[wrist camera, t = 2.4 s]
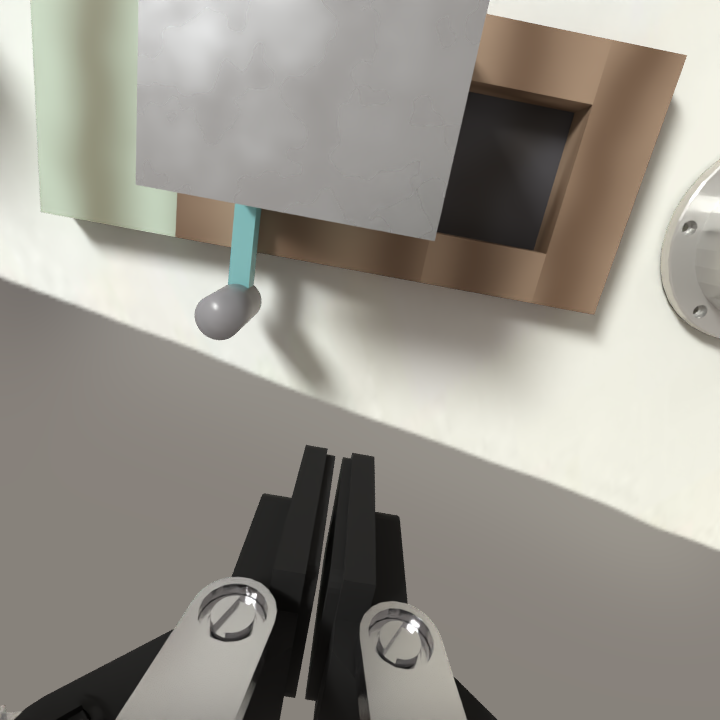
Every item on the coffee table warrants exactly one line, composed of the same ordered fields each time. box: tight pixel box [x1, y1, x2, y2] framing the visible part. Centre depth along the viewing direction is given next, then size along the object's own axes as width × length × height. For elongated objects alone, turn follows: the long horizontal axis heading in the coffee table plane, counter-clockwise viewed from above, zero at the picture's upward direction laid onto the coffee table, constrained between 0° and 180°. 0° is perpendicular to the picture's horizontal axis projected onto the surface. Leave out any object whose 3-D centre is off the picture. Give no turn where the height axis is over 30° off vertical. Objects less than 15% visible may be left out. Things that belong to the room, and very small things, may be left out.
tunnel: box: [136, 0, 489, 241], centre depth 21 cm, size 12×10×9 cm
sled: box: [195, 204, 261, 340], centre depth 24 cm, size 9×15×5 cm, turn 170°
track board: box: [30, 0, 687, 315], centre depth 26 cm, size 34×14×2 cm, turn 80°
